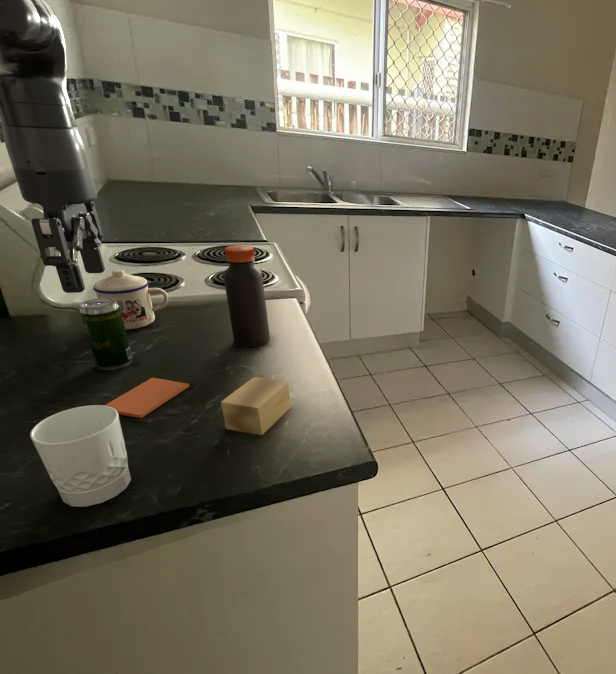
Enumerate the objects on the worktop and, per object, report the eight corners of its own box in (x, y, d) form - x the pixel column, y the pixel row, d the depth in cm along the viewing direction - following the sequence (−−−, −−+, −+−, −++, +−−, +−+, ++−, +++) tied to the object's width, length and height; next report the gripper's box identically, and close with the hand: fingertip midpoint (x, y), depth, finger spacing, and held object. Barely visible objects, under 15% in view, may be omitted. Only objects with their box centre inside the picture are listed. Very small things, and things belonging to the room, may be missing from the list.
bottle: (267, 332, 104) (255, 242, 96) (273, 344, 99) (261, 251, 91) (232, 337, 101) (217, 244, 92) (236, 350, 96) (221, 253, 87)
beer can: (134, 355, 90) (118, 296, 85) (133, 367, 86) (116, 306, 81) (97, 360, 87) (79, 299, 82) (94, 373, 83) (75, 310, 78)
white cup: (41, 497, 58) (13, 430, 54) (111, 460, 65) (91, 398, 61) (83, 520, 56) (57, 452, 51) (151, 479, 62) (133, 416, 58)
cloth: (100, 411, 74) (99, 407, 74) (152, 380, 83) (152, 377, 83) (141, 418, 73) (140, 415, 73) (189, 386, 83) (188, 383, 82)
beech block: (225, 429, 73) (220, 401, 71) (257, 402, 80) (254, 376, 78) (262, 435, 73) (257, 408, 70) (291, 407, 80) (288, 382, 78)
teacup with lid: (101, 333, 97) (85, 279, 92) (106, 317, 103) (92, 265, 99) (172, 326, 103) (160, 274, 98) (172, 310, 110) (162, 262, 105)
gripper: (38, 156, 66) (71, 267, 73) (-17, 168, 54) (29, 300, 61) (105, 159, 69) (131, 266, 76) (66, 172, 57) (102, 297, 64)
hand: (86, 281), depth 68 cm, fingers open, 8 cm apart
